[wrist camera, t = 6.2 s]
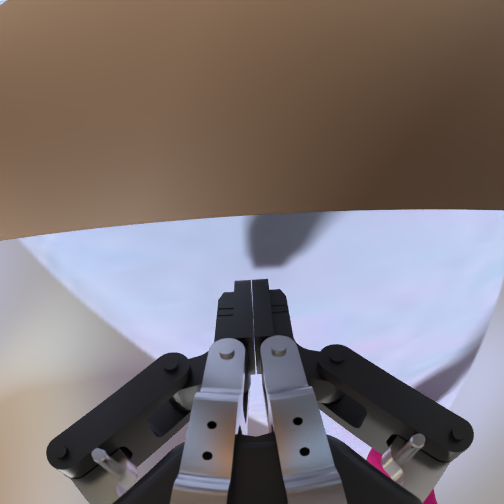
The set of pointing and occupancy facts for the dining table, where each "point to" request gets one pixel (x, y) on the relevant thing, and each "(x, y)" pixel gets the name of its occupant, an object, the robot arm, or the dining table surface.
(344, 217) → the dining table surface
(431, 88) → the bridge
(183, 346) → the dining table surface
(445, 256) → the dining table surface
